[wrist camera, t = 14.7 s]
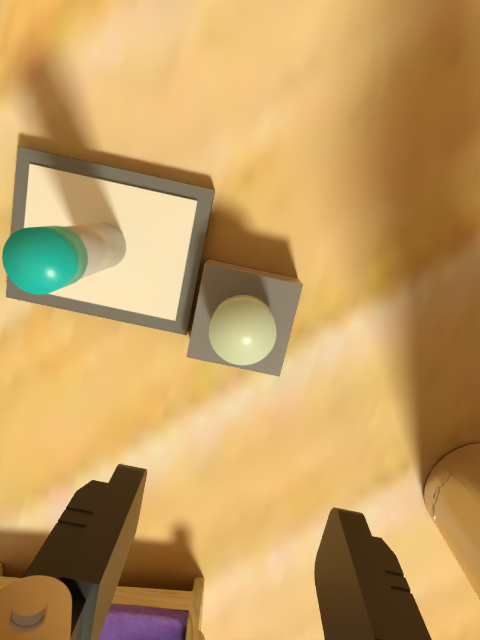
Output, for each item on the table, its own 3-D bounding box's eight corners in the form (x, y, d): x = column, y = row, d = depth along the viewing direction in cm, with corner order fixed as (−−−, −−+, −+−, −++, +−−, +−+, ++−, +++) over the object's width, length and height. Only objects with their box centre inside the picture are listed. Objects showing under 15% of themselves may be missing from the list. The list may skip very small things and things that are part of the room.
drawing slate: (215, 190, 32) (213, 189, 30) (187, 331, 34) (185, 335, 33) (25, 148, 31) (16, 145, 30) (12, 294, 34) (4, 297, 33)
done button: (280, 297, 31) (283, 308, 27) (266, 355, 32) (268, 371, 29) (219, 284, 31) (216, 293, 27) (207, 342, 32) (202, 357, 28)
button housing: (298, 278, 33) (302, 284, 30) (277, 362, 35) (279, 376, 32) (208, 258, 33) (204, 263, 30) (191, 344, 34) (186, 356, 32)
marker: (131, 228, 31) (72, 236, 21) (123, 273, 32) (63, 301, 22) (85, 216, 31) (6, 219, 21) (78, 262, 32) (-1, 285, 22)
